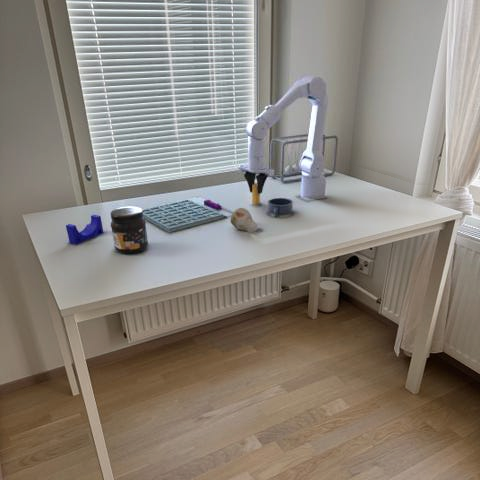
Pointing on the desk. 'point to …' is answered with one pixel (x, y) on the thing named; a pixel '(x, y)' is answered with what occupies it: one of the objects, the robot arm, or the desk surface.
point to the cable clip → (85, 230)
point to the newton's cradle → (296, 167)
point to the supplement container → (129, 230)
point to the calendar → (183, 213)
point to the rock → (243, 220)
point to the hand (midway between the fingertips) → (255, 192)
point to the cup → (280, 206)
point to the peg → (255, 194)
